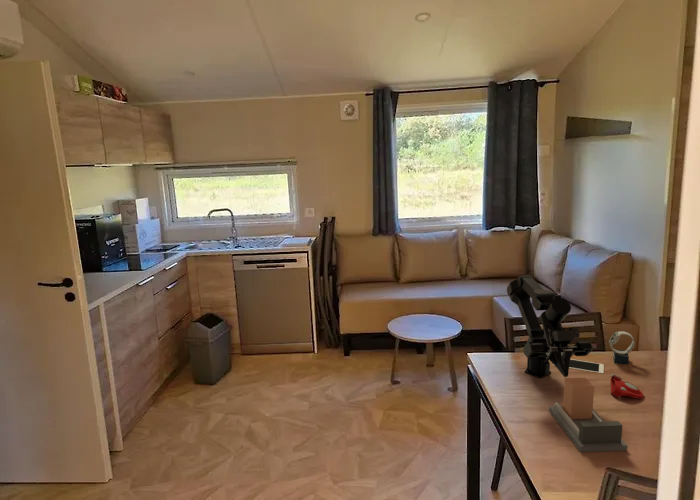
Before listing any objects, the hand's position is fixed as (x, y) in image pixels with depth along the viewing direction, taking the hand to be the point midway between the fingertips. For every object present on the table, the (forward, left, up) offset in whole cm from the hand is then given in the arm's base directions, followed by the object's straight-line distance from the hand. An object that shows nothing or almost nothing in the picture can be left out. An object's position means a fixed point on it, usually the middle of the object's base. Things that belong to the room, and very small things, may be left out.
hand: (566, 376), depth 145 cm
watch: (-4, +43, -10) cm, 44 cm away
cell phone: (-12, +29, -10) cm, 33 cm away
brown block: (+6, -5, -8) cm, 11 cm away
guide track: (+10, -8, -9) cm, 16 cm away
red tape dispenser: (+7, +22, -10) cm, 25 cm away
